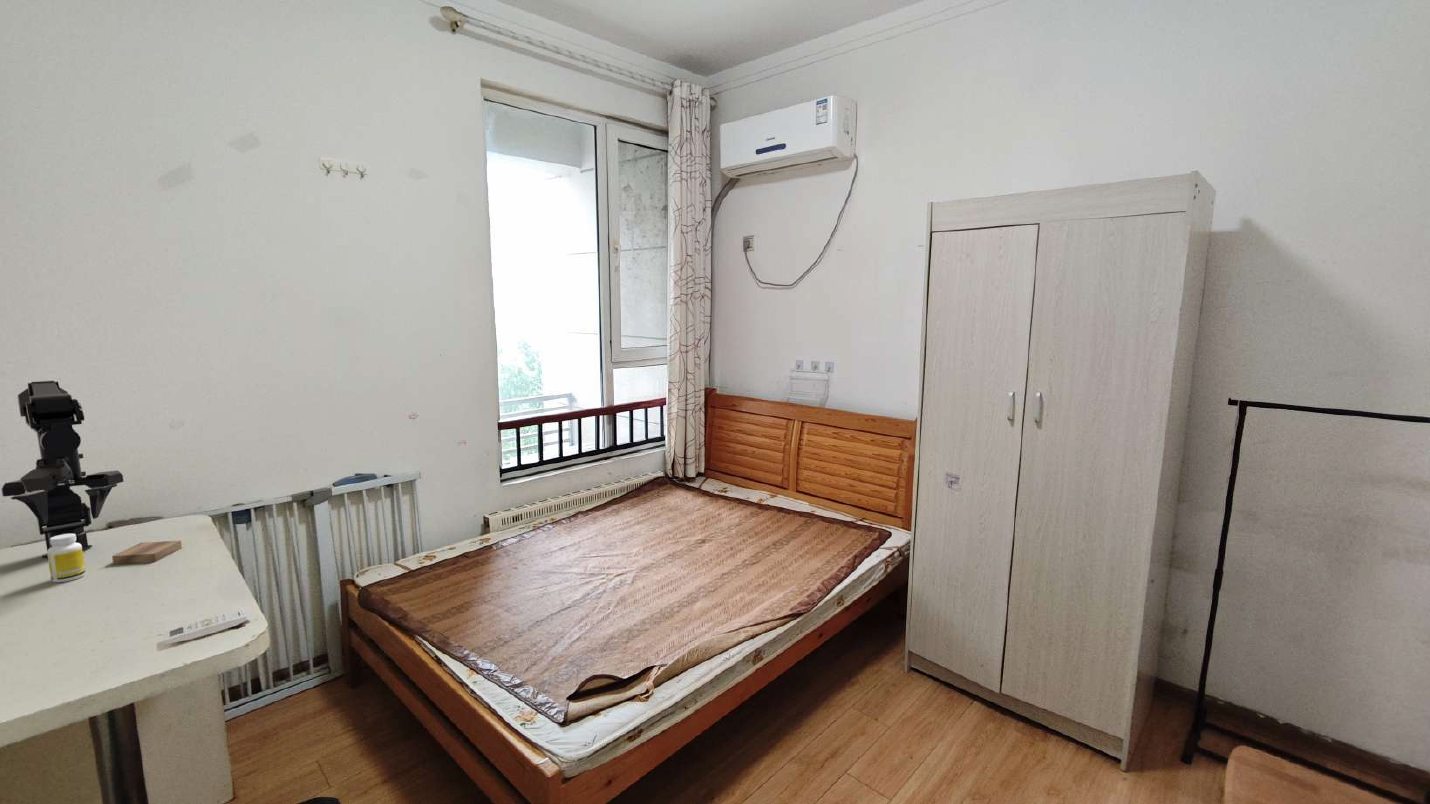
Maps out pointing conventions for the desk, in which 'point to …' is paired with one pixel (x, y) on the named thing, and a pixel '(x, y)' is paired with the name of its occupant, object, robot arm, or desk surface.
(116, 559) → the base plate
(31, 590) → the desk surface
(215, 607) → the desk surface
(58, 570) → the supplement bottle
